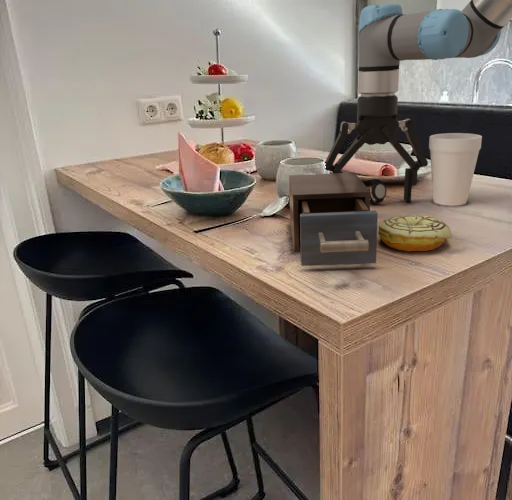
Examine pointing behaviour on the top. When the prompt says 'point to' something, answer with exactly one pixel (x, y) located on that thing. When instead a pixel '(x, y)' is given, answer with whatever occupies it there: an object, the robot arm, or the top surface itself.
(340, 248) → the drawer
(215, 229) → the top surface
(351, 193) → the cabinet
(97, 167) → the top surface
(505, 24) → the robot arm
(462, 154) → the foam cup
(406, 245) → the decorated donut
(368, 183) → the smartwatch
